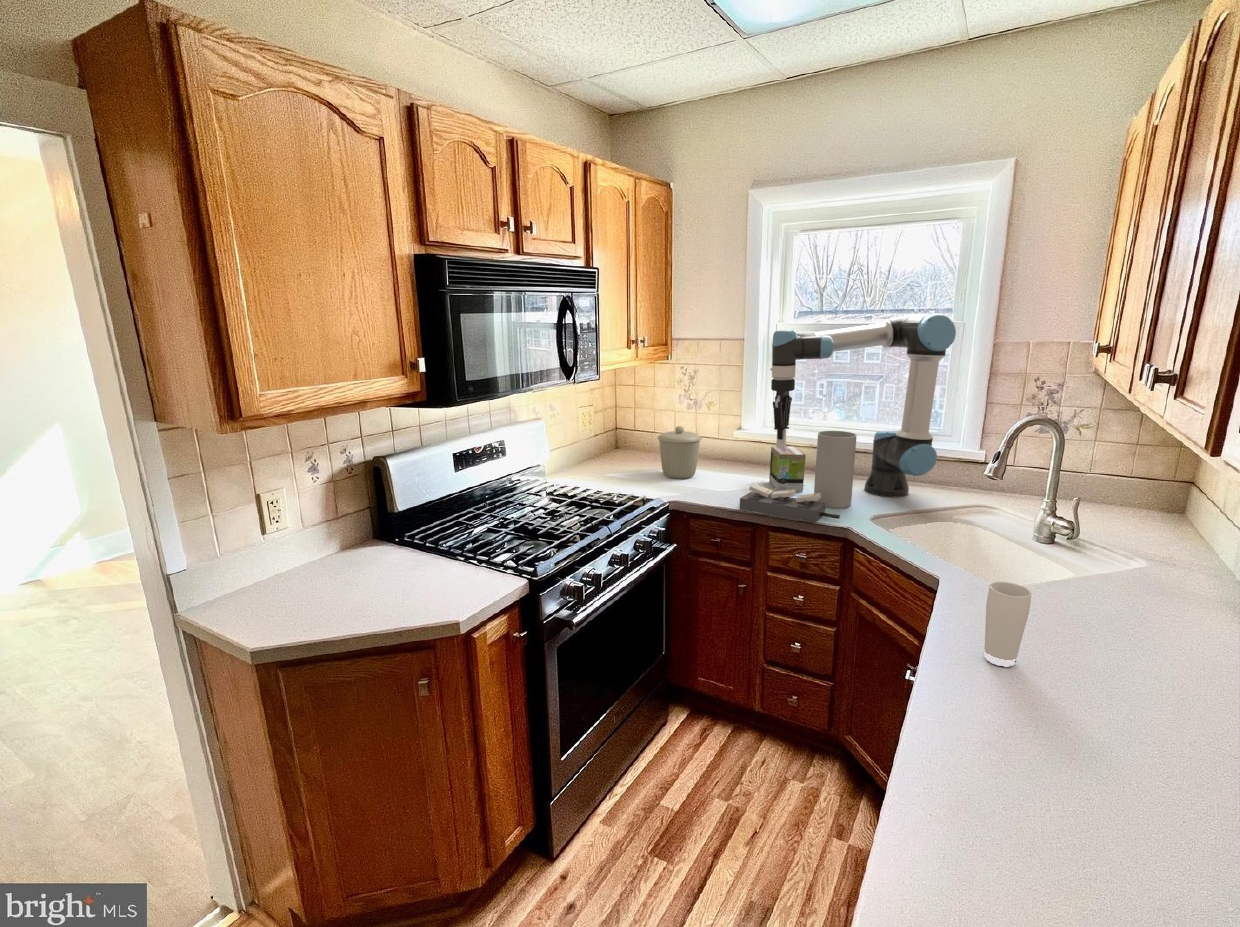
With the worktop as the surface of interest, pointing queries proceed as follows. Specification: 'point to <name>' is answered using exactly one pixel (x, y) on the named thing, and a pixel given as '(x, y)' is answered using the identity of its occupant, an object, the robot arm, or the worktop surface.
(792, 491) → the rocker
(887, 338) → the robot arm
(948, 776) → the worktop surface
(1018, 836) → the worktop surface
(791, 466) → the tea box
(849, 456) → the cylinder vase
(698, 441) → the canister
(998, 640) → the drinking glass
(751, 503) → the power strip
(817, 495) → the rocker
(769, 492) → the rocker
